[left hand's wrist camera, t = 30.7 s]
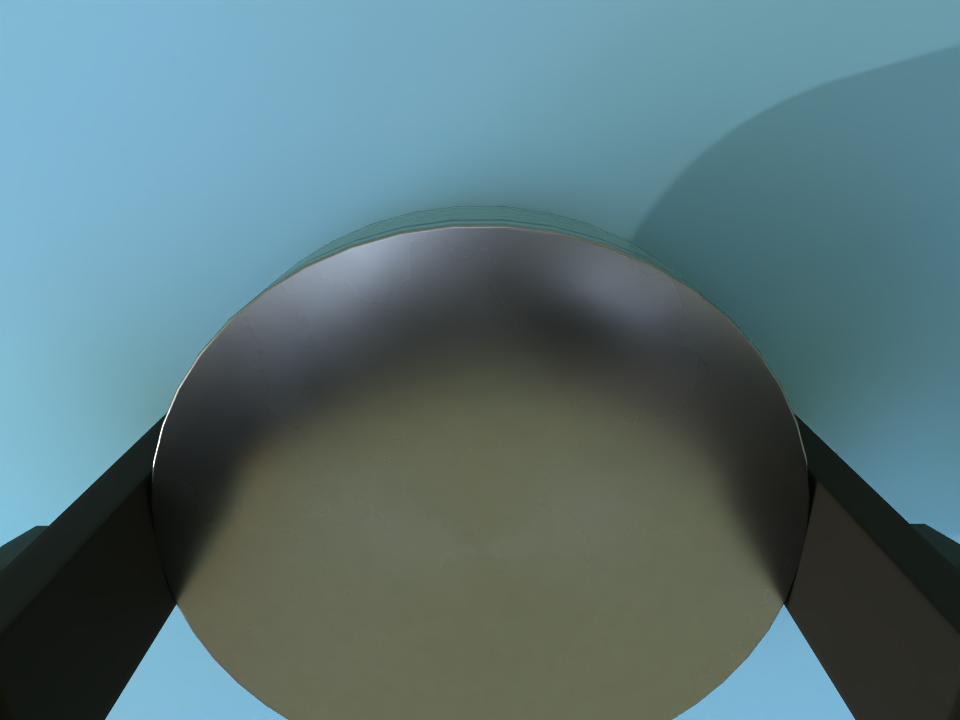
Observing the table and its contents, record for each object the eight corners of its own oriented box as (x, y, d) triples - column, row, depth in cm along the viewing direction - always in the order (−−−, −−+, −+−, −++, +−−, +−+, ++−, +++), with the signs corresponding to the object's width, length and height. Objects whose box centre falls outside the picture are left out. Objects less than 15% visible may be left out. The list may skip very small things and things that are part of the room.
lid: (128, 229, 10) (57, 252, 9) (794, 181, 10) (861, 196, 8) (261, 702, 14) (231, 784, 13) (736, 678, 14) (773, 758, 12)
